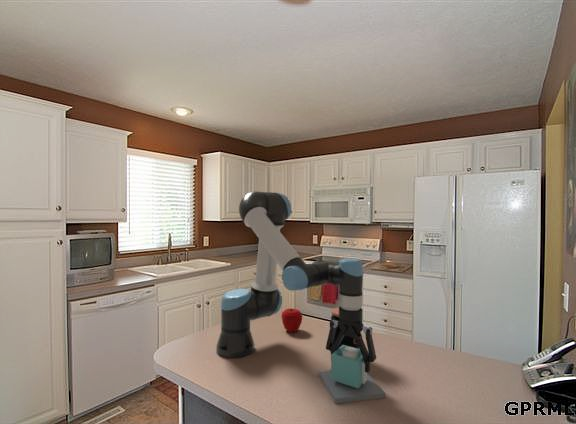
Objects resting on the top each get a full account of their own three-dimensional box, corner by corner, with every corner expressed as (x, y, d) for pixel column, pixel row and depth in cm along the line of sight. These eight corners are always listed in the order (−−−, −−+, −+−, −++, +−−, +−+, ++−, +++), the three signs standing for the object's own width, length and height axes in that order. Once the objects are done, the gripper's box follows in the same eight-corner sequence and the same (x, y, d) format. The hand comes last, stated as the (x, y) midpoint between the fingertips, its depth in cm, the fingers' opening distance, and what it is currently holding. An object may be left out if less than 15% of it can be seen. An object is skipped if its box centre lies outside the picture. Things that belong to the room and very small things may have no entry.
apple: (306, 330, 148) (306, 307, 148) (293, 336, 140) (293, 312, 140) (290, 325, 154) (290, 303, 154) (277, 330, 147) (277, 307, 147)
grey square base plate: (318, 375, 106) (318, 342, 106) (361, 371, 109) (362, 338, 110) (335, 403, 91) (335, 364, 91) (385, 397, 94) (385, 359, 94)
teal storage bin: (331, 379, 99) (331, 354, 99) (342, 368, 106) (342, 344, 106) (358, 388, 94) (358, 362, 94) (368, 375, 101) (368, 351, 101)
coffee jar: (359, 365, 114) (359, 316, 114) (329, 362, 116) (330, 314, 116) (358, 353, 124) (358, 308, 124) (331, 350, 126) (331, 306, 126)
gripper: (387, 310, 98) (387, 382, 97) (325, 299, 109) (324, 363, 109) (380, 316, 91) (380, 393, 91) (315, 304, 103) (314, 372, 103)
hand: (349, 376), depth 100 cm, fingers closed on teal storage bin, 9 cm apart
